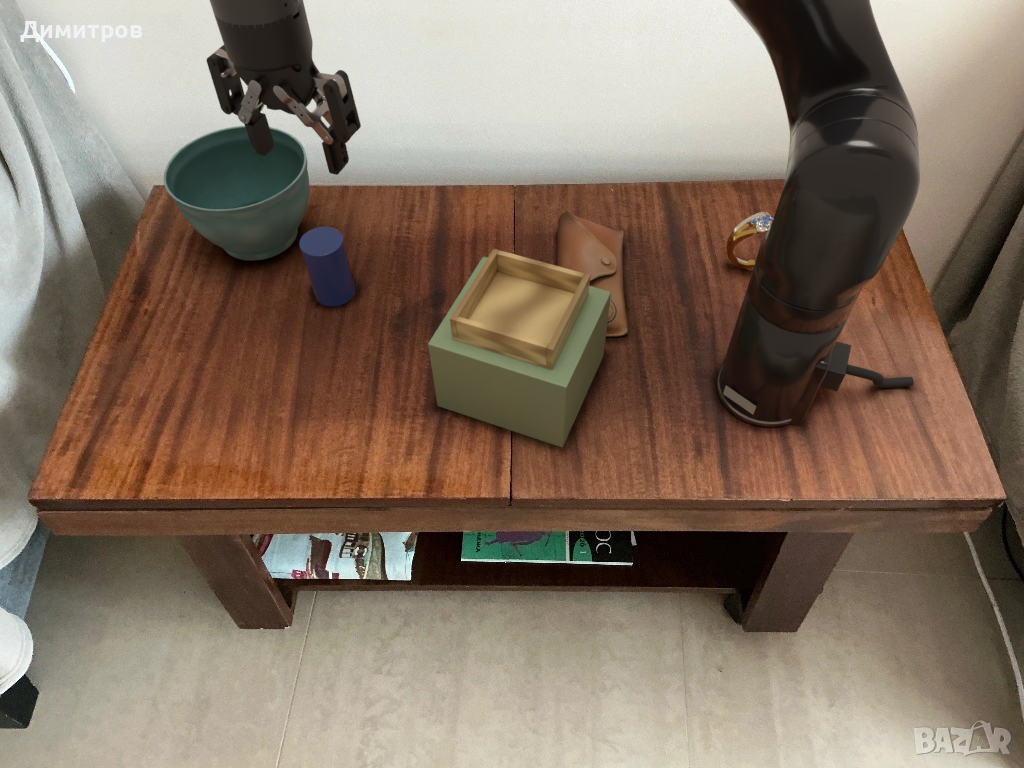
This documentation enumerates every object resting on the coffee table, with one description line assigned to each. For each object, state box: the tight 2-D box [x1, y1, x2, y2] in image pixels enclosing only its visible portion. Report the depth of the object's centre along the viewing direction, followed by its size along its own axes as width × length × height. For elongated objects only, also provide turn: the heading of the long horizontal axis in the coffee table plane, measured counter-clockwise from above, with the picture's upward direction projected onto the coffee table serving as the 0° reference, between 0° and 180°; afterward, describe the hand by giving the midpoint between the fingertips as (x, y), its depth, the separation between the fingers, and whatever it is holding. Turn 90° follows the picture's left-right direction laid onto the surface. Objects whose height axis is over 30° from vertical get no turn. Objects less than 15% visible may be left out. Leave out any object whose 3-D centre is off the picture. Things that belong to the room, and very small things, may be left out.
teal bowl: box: [163, 125, 310, 262], centre depth 94 cm, size 16×16×11 cm
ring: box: [726, 211, 774, 272], centre depth 90 cm, size 7×3×8 cm, turn 86°
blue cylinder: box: [298, 226, 356, 308], centre depth 89 cm, size 5×5×8 cm
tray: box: [450, 248, 590, 370], centre depth 74 cm, size 10×10×3 cm
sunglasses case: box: [556, 210, 629, 338], centre depth 91 cm, size 18×7×7 cm
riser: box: [427, 256, 611, 448], centre depth 79 cm, size 14×13×10 cm
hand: (302, 160), depth 78 cm, fingers open, 8 cm apart
